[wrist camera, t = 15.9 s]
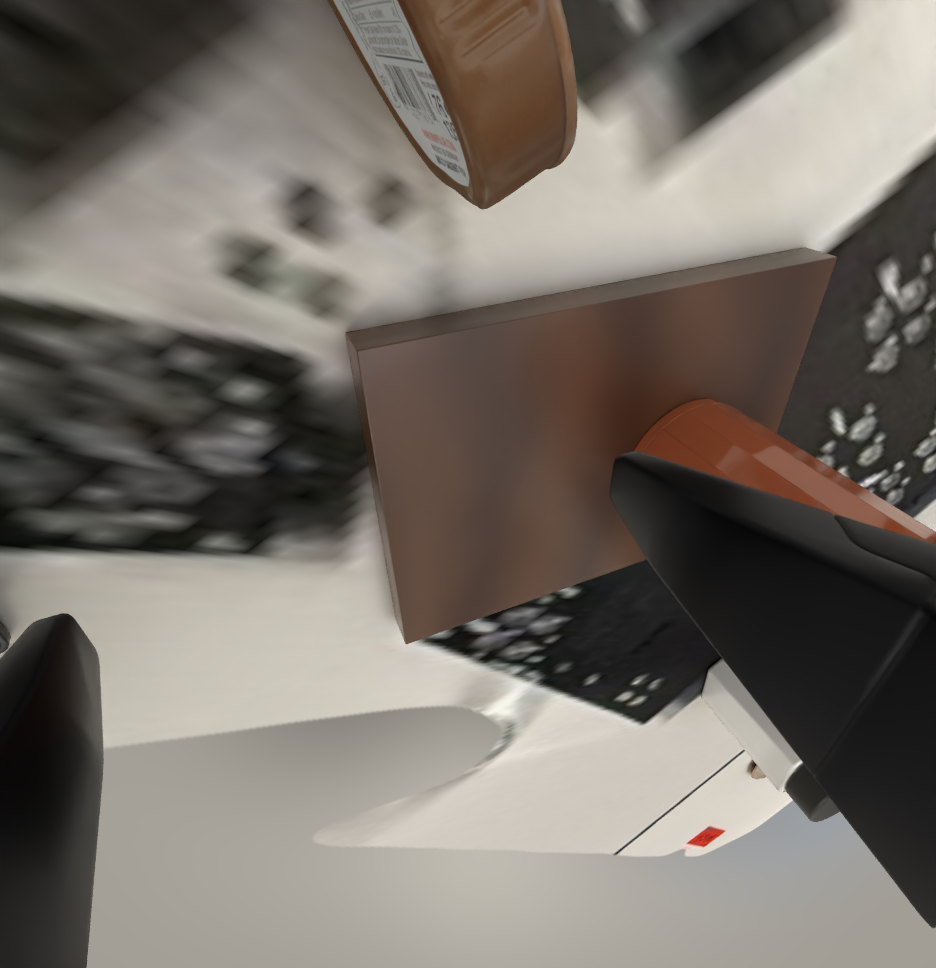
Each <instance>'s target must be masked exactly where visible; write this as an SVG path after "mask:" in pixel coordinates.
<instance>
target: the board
mask: <svg viewBox="0 0 936 968" xmlns="http://www.w3.org/2000/svg"><path fill="white" fill-rule="evenodd" d="M836 259H837V257H836V256H833V255H829V254H826V253H822V252H819V251H815V250H812V249H808V248H800V249H794V250H789V251H783V252H778V253H773V254H767V255H762V256H756V257H751V258H746V259H740V260H735V261H729V262H724V263H719V264H713V265H708V266H702V267H697V268H692V269H686V270H681V271H676V272H670V273H665V274H659V275H654V276H649V277H643V278H638V279H632V280H627V281H622V282H616V283H611V284H605V285H600V286H595V287H589V288H584V289H578V290H573V291H568V292H562V293H557V294H551V295H546V296H541V297H535V298H530V299H524V300H519V301H514V302H508V303H503V304H497V305H492V306H487V307H481V308H476V309H470V310H465V311H460V312H454V313H449V314H443V315H438V316H433V317H427V318H422V319H416V320H411V321H406V322H400V323H395V324H390V325H384V326H379V327H373V328H368V329H363V330H357V331H352V332H346V340H347V345H348V351H349V357H350V362H351V368H352V374H353V379H354V385H355V391H356V396H357V402H358V408H359V413H360V419H361V425H362V430H363V436H364V442H365V447H366V453H367V459H368V464H369V470H370V476H371V481H372V487H373V492H374V498H375V504H376V509H377V515H378V521H379V526H380V532H381V538H382V543H383V549H384V555H385V560H386V566H387V572H388V577H389V583H390V589H391V594H392V600H393V606H394V611H395V617H396V621H397V623H398V626H399V628H400V631H401V634H402V636H403V639H404V641H405V644H408V643H411V642H414V641H417V640H420V639H422V638H425V637H428V636H431V635H434V634H437V633H439V632H442V631H445V630H448V629H451V628H454V627H456V626H459V625H462V624H465V623H468V622H471V621H473V620H476V619H479V618H482V617H485V616H488V615H490V614H493V613H496V612H499V611H502V610H505V609H507V608H510V607H513V606H516V605H519V604H522V603H524V602H527V601H530V600H533V599H536V598H539V597H541V596H544V595H547V594H550V593H553V592H556V591H558V590H561V589H564V588H567V587H570V586H573V585H575V584H578V583H581V582H584V581H587V580H590V579H592V578H595V577H598V576H601V575H604V574H607V573H609V572H612V571H615V570H618V569H621V568H624V567H626V566H629V565H632V564H635V563H638V562H641V561H643V560H646V557H645V556H644V554H643V552H642V551H641V549H640V548H639V546H638V544H637V543H636V541H635V539H634V538H633V536H632V534H631V533H630V531H629V530H628V528H627V526H626V525H625V523H624V521H623V520H622V518H621V517H620V515H619V513H618V512H617V510H616V508H615V507H614V505H613V503H612V501H611V498H610V483H611V476H612V469H613V463H614V460H615V458H616V457H617V456H619V455H621V454H625V453H628V452H632V451H634V450H635V448H636V446H637V445H638V443H639V442H640V440H641V439H642V438H643V436H644V435H645V434H646V433H647V431H648V430H649V429H650V428H651V427H652V426H653V425H654V424H655V423H656V422H657V421H658V420H659V419H661V418H662V417H663V416H664V415H666V414H667V413H669V412H670V411H672V410H673V409H675V408H677V407H678V406H680V405H682V404H685V403H687V402H690V401H693V400H697V399H716V400H719V401H722V402H723V403H725V404H727V405H730V406H732V407H734V408H735V409H737V410H738V411H740V412H742V413H743V414H745V415H746V416H748V417H750V418H751V419H753V420H755V421H756V422H758V423H759V424H761V425H763V426H764V427H766V428H768V429H769V430H771V431H772V432H774V433H777V430H778V427H779V424H780V422H781V419H782V416H783V413H784V410H785V407H786V404H787V401H788V398H789V396H790V393H791V390H792V387H793V384H794V381H795V378H796V375H797V372H798V369H799V367H800V364H801V361H802V358H803V355H804V352H805V349H806V346H807V343H808V341H809V338H810V335H811V332H812V329H813V326H814V323H815V320H816V317H817V314H818V312H819V309H820V306H821V303H822V300H823V297H824V294H825V291H826V288H827V286H828V283H829V280H830V277H831V274H832V271H833V268H834V265H835V262H836Z"/></svg>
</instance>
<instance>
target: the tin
mask: <svg viewBox="0 0 936 968" xmlns="http://www.w3.org/2000/svg"><path fill="white" fill-rule="evenodd" d="M328 2H329V3H330V5H331V7H332V9H333V11H334V13H335V14H336V16H337V18H338V20H339V22H340V23H341V25H342V27H343V29H344V31H345V33H346V35H347V36H348V38H349V40H350V42H351V44H352V46H353V48H354V49H355V51H356V53H357V55H358V57H359V58H360V60H361V62H362V64H363V65H364V67H365V69H366V71H367V72H368V74H369V76H370V78H371V79H372V81H373V83H374V85H375V86H376V88H377V90H378V91H379V93H380V95H381V96H382V98H383V100H384V101H385V103H386V105H387V106H388V108H389V110H390V111H391V113H392V115H393V116H394V118H395V119H396V121H397V123H398V124H399V126H400V128H401V129H402V131H403V132H404V134H405V135H406V137H407V138H408V140H409V141H410V143H411V144H412V146H413V147H414V148H415V150H416V151H417V153H418V154H419V156H420V157H421V158H422V160H423V161H424V162H425V164H426V165H427V166H428V168H429V169H430V170H431V171H432V172H433V173H434V174H435V175H436V176H437V177H438V178H439V179H440V180H441V181H442V182H443V183H445V184H446V185H448V186H449V187H451V188H453V189H454V190H456V191H457V192H458V193H459V194H461V195H462V196H463V197H464V198H465V199H466V200H468V201H469V202H471V203H472V204H474V205H476V206H478V207H479V208H480V209H487V208H489V207H491V206H493V205H494V204H496V203H498V202H499V201H501V200H502V199H504V198H505V197H507V196H508V195H510V194H511V193H513V192H514V191H516V190H517V189H518V188H520V187H521V186H522V185H524V184H525V183H527V182H528V181H530V180H531V179H532V178H534V177H535V176H537V175H538V174H539V173H541V172H542V171H544V170H545V169H551V168H554V167H557V166H558V165H560V164H561V163H562V162H563V161H564V160H565V159H566V157H567V156H568V154H569V153H570V151H571V149H572V146H573V144H574V141H575V136H576V127H577V89H576V79H575V70H574V61H573V55H572V50H571V45H570V37H569V34H568V29H567V24H566V19H565V15H564V12H563V7H562V3H561V0H328Z"/></svg>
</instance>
